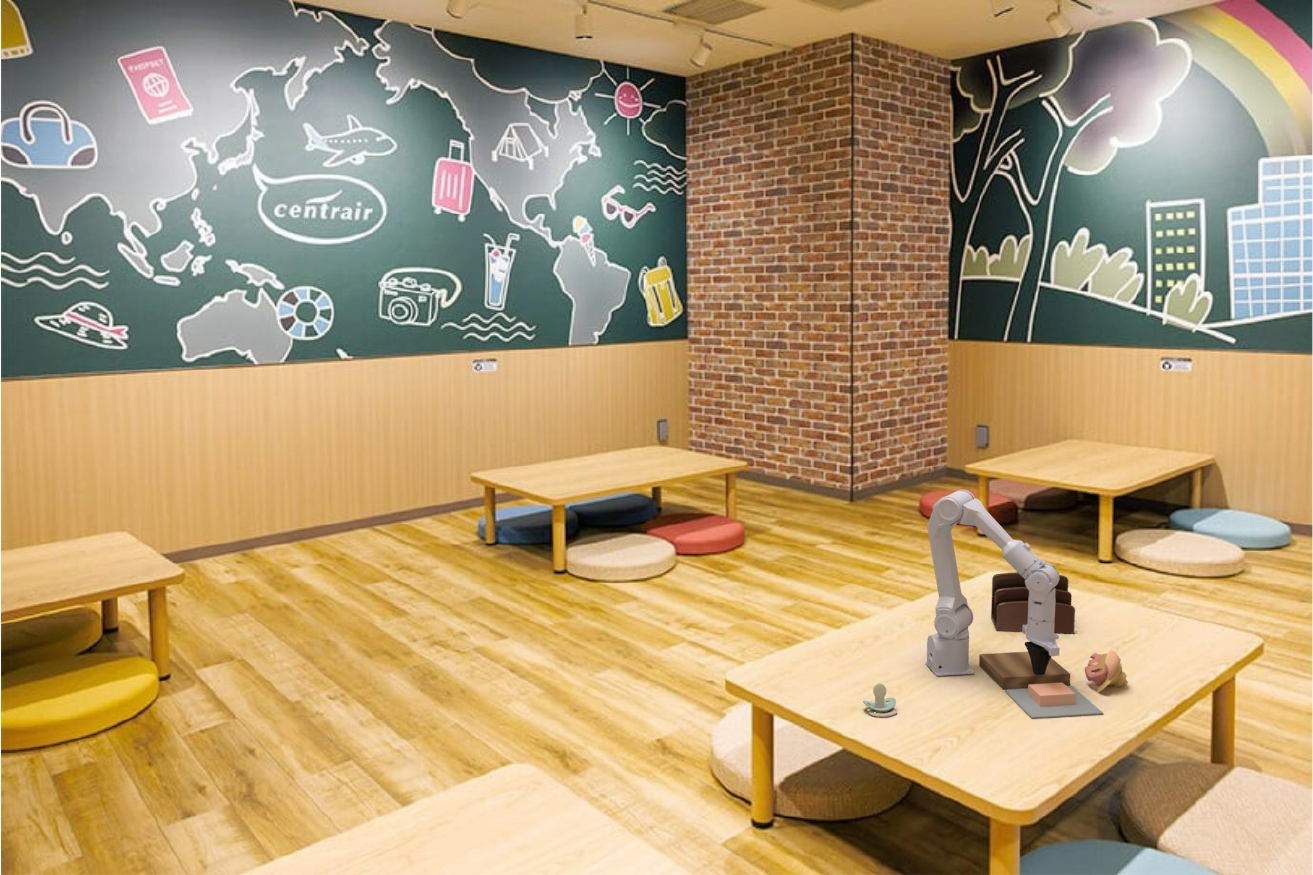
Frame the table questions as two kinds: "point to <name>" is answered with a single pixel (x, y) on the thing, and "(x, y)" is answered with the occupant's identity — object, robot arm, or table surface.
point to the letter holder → (1013, 604)
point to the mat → (1036, 712)
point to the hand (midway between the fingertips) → (1039, 673)
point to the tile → (1051, 694)
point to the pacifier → (881, 702)
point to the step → (1020, 670)
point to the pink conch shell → (1106, 670)
